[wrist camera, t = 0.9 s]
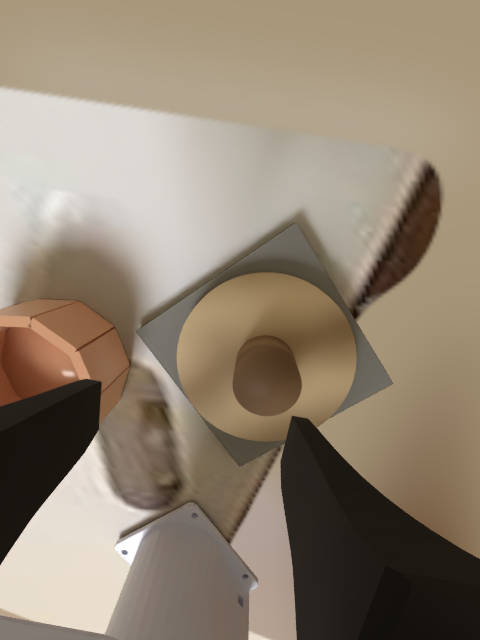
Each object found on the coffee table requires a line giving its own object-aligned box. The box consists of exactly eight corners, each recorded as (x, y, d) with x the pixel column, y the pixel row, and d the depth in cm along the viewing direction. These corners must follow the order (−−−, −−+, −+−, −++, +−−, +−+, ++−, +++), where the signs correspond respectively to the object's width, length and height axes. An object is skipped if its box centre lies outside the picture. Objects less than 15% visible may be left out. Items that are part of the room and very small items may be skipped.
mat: (388, 378, 21) (393, 383, 20) (240, 458, 23) (239, 466, 22) (294, 223, 19) (296, 222, 18) (140, 328, 21) (135, 331, 20)
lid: (382, 381, 20) (413, 414, 16) (241, 458, 22) (238, 505, 18) (293, 234, 18) (303, 232, 14) (146, 333, 20) (120, 355, 16)
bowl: (154, 377, 22) (129, 412, 17) (58, 439, 23) (13, 484, 19) (72, 272, 20) (21, 280, 16) (-25, 345, 22) (-96, 371, 17)
